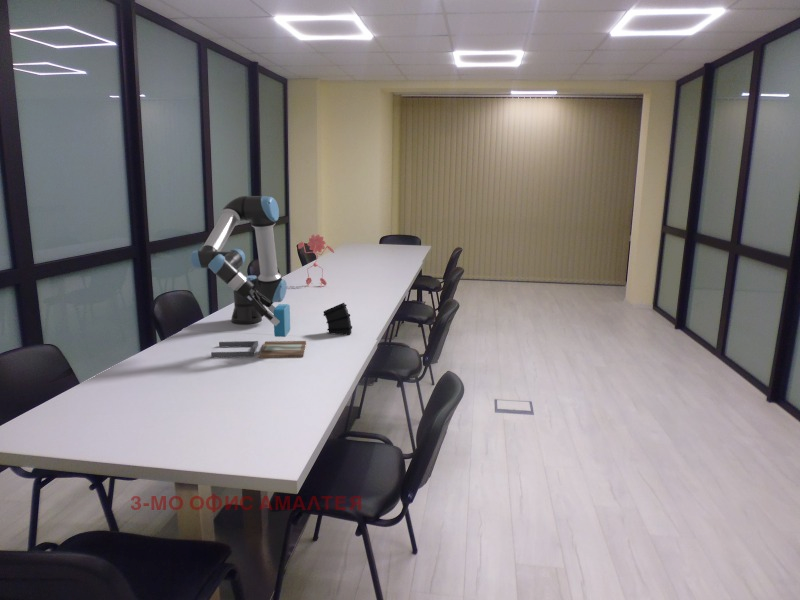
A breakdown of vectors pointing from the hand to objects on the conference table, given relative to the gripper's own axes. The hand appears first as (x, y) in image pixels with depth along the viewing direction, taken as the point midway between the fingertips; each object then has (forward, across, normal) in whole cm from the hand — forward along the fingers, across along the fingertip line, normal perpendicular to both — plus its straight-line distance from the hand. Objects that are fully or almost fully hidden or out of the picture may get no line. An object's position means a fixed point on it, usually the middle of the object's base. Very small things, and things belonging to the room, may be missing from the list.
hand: (279, 320), depth 242 cm
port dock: (+10, 0, -9) cm, 14 cm away
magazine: (+27, -26, +8) cm, 38 cm away
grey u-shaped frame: (-4, 0, -23) cm, 23 cm away
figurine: (+16, -150, -2) cm, 151 cm away
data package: (+5, 0, -4) cm, 6 cm away
